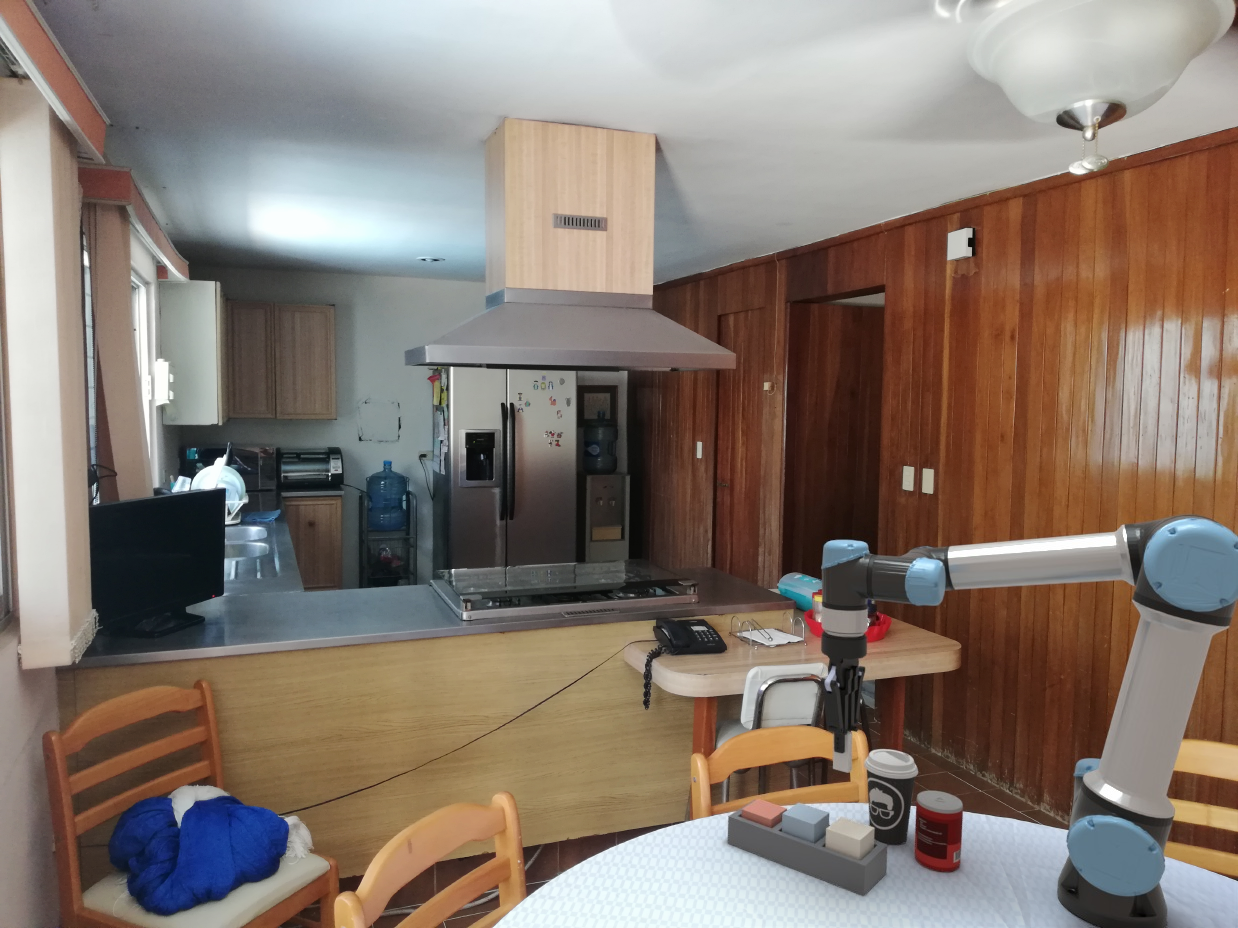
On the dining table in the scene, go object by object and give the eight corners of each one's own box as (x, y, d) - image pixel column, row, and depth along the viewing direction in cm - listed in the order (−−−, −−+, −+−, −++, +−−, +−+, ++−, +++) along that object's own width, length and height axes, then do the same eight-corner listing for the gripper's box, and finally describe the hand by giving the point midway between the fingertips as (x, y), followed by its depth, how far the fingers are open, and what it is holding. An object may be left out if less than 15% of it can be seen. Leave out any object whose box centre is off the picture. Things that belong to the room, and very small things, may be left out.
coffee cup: (922, 849, 151) (926, 768, 150) (869, 847, 151) (872, 766, 150) (905, 825, 160) (908, 748, 160) (855, 823, 160) (858, 746, 160)
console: (886, 873, 142) (887, 844, 142) (863, 895, 135) (865, 865, 135) (753, 825, 158) (754, 799, 158) (727, 843, 151) (728, 815, 151)
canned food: (952, 851, 150) (955, 791, 150) (966, 874, 142) (969, 811, 142) (909, 848, 151) (911, 788, 151) (920, 870, 143) (923, 808, 143)
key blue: (828, 834, 147) (829, 812, 147) (813, 847, 142) (814, 824, 142) (797, 824, 151) (798, 802, 150) (781, 835, 146) (782, 813, 146)
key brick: (786, 829, 152) (787, 808, 152) (770, 841, 147) (771, 819, 147) (757, 819, 156) (758, 798, 156) (740, 830, 151) (741, 808, 151)
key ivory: (873, 850, 142) (874, 827, 141) (859, 864, 137) (860, 840, 137) (840, 838, 145) (841, 816, 145) (825, 851, 141) (826, 828, 141)
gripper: (839, 622, 149) (838, 753, 149) (806, 634, 139) (804, 775, 139) (880, 628, 144) (878, 763, 145) (848, 641, 134) (846, 787, 135)
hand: (842, 769), depth 142 cm, fingers closed
